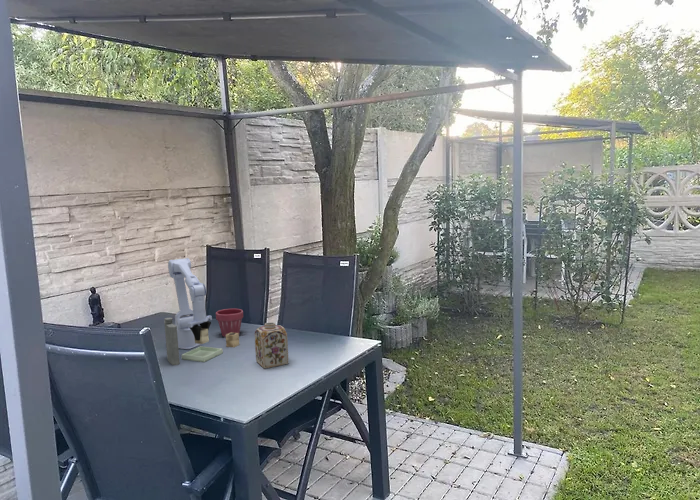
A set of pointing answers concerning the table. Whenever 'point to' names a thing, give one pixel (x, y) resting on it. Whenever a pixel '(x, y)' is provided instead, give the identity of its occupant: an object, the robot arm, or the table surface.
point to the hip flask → (171, 342)
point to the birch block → (203, 336)
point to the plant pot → (229, 320)
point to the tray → (202, 354)
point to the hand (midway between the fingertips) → (201, 338)
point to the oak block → (232, 339)
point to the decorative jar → (271, 345)
